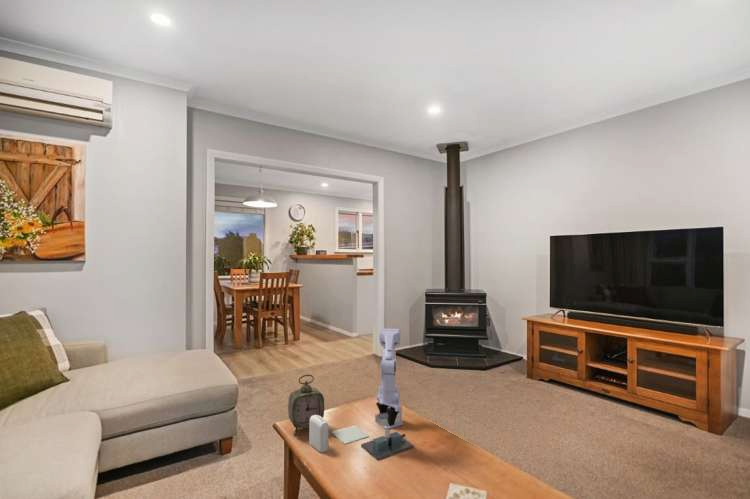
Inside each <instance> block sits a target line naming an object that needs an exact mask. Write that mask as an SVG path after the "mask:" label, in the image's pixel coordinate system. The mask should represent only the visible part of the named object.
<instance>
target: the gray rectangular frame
mask: <svg viewBox="0 0 750 499" xmlns="http://www.w3.org/2000/svg"><path fill="white" fill-rule="evenodd" d="M374 419H375V420H374V422H375V423H376V424H377V425H379V426H381V427H382V428H383V426H386V425H389V418H388V413H387V412H383V413H380V412H378V413H377V414H376V413H375V418H374ZM396 422H400V414H399V413H398V414H397V417H396V420H395V423H396Z"/></svg>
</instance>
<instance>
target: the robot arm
mask: <svg viewBox="0 0 750 499" xmlns="http://www.w3.org/2000/svg"><path fill="white" fill-rule="evenodd" d="M379 344H380V346H381V347H383V348H384V349H383V351H382V357H381V358H382V359H381V362H380V379H381V380H380V381H381V385H380V386H379V387H378V394H376V395H375V396H376V400H377V401H378V402H376V406H377V408H378V411H379V412H378V413H383V412H387V413H388V418H389V425H386V426H383V427H382V428H383V429H386V428H390V429H393V428H396V427H399V426H403V421H402V420H403V419H402V418H403V417H402V416H403V411H402V406H401V404H400V388H399V386H398V385H397V384H396V374H397V366H398V365H397V359H396V358H397V357H396V356H397V355H396V354H397V352H396V348H398V347H399V346H400V344H401V329H400V328H382V327H381V328H380V329H379ZM398 413H399V414H400V422H396V423H395V420H396V417H397V414H398Z"/></svg>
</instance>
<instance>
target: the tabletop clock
mask: <svg viewBox="0 0 750 499" xmlns="http://www.w3.org/2000/svg"><path fill="white" fill-rule="evenodd" d="M305 377H311V378H312V380H311V381H307V380H305V381H304V382H301V379H302V378H305ZM314 379H315V377H314V375H312V374H303V375H301V376H300V377H299V379H298V383H299V384H300V385H301V387H300V389H297V390H293V391H291V392H290V393H289V397H288V401H287V402H288V403H287V411H288V412H287V413H288V419H289V420H290V422H291V424H292V425H293V427H294V428H295V430H294V431H293V433H292V434H293V436H297V435H298V431H297V430H298V429H304V428H305V429H306V428H309V421H310V418H311V416H313V415H319V416H321V417H322V418H324V416H325V399H324V395H323V393H322V392H321V391H320V390H319V389H318V388H316V387H312V386H311V385H310V384H312V382H314Z"/></svg>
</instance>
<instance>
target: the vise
mask: <svg viewBox="0 0 750 499" xmlns="http://www.w3.org/2000/svg"><path fill="white" fill-rule="evenodd" d="M384 429H385V428H384ZM390 429H391V428H386V429H385V431H384V432H385V436H383V435H382V436H379V437H376V438H373V439H372V440H370V441H367V442H364V443H361V446H360V447H361V448H362V449H364V450H365V452H367V453H368V454H369V455H371V456H372V457H373V458H374V459H375V460H376V461H380V460H382V459H385V458H388V457H390V456H393V455H396V454H399V453H403V452H405V451H407V450H410V449H414V446H415V444H413V443H411V442H410V441H408V440H407V439H406V436H407V435H406V433H403V434H400V433H399V432H397V431H395V432H391V430H390Z"/></svg>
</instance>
